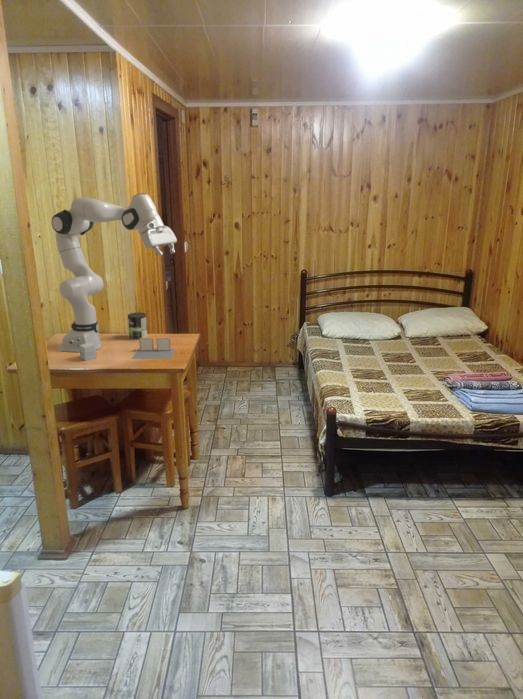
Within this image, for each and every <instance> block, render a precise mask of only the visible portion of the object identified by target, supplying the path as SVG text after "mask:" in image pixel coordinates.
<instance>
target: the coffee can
mask: <svg viewBox="0 0 523 699" xmlns="http://www.w3.org/2000/svg"><path fill="white" fill-rule="evenodd" d="M127 320H128V322H127V323H128V335H129V340H132V341H140V339H139V338H148V328H147V314H146V313H145V312H131V313H128V314H127Z"/></svg>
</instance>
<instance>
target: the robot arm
mask: <svg viewBox="0 0 523 699" xmlns="http://www.w3.org/2000/svg"><path fill="white" fill-rule="evenodd" d="M70 204H71V205H70V209H69V210H67V209H63V210H61V211H60V212H57V213H55V214H54V215H53V216H52V217H51V226H52V229H53V230H54V232H56V233H55V242H56V247H57V250H58V254H59V255H60V256H59V257H60V259H61V263H62V266H63V267H64V269H65V270H68V271H70V272H71V273H72V275H73V276H74V277H70V278H67V279H65V280H63V281H62V282H60V284H59V287H58V289H59V293H60V295H61V296H62V297H63V299H65V300H67V301H68V302H69V303H70V306H71V307H72V311H73V317H74V321H73V322H72V323H71V326H70V328H71V329H70V330H69V331H68V332H67V333H66V334H65V335H64V336H63V337H62V341H61V344H60V345H59V346H58V348H57V350H58V352H69V353H70V352H71V353H80V350H79V345H81V344H85V343H91V344H93V345H95V350H98V349H101V348H102V347H103V343H102V341H101V338H100V334H99V323H98V320H97V311H96V307H95V306H94V305H93V304H91V303H89V301H88V297H89V296H93V295H97V294H98V293H101V292H102V290H103V289H104V281H103V278H102V277H101V276H100V275H98V274H97V273H96V272H94V271H93V270H92V268H90V266H89V264H88V263H87V261H86V259H85V258H86V257H85V256H84V253H83V250H82V247H81V245H80V241H79V236H80V235H81V236H84V235H86V233H87V232H89V231H90V230H92V228H93V227H94V223H108V222H113V221H121V223H122V225H123V228H125V229H126V230H129V231H136V230H137V233H138V235H140V239H141V241H142V243H143V245H144V247H145V248H146V249H148V250H149V249H152V250H153V251H154V252H155V253H156V254H157V257H161V256H163V255H164V253H163V251H161V250H160V247H167V246H168V248H169V252H170V255H171V254H175V253H176V251H175V245H174V244H176V243H178V239H177V237H176V235H175V233H174V232H173V231H174V230H172V229H171V228H170V227H169V226H167V225H165V224H164V222H163V220H162V219H161V216H160V215H159V213H158V211H157V208H156V205H155V203H154V201H153V200H152V198H151V197H150V195H149V194H147V193H137V194H135V195H132V196H131V201H130V203H129V205H128V206H127V207H125V206H120V205H117V204H113V203H110V202H107V201H103V200H101V199H97V198H93V197H86V196H85V197H81V196H79V197H76V198H74V199H73V200H72V202H71V203H70Z"/></svg>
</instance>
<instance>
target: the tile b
mask: <svg viewBox="0 0 523 699" xmlns="http://www.w3.org/2000/svg"><path fill="white" fill-rule="evenodd" d="M171 344H172V342H171V337H156V349H157V351H171V349H172V346H171Z"/></svg>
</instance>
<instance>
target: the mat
mask: <svg viewBox="0 0 523 699" xmlns="http://www.w3.org/2000/svg"><path fill="white" fill-rule="evenodd" d="M175 349H176V348H171V351H157V348H154V351H140V348H137V349H136V351H135V353H134V354H133V357H132V358H131V359H132V360H140V359H141V360H157V359H158V360H161V359H162V360H171V359H173V355H174V352H175V351H176V350H175Z"/></svg>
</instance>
